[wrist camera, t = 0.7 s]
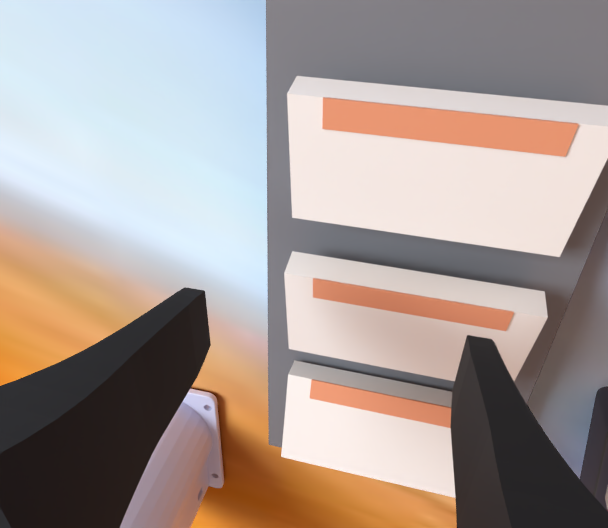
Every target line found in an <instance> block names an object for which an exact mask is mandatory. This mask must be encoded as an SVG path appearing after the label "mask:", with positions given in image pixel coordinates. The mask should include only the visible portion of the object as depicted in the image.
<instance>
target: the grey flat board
mask: <svg viewBox="0 0 608 528" xmlns="http://www.w3.org/2000/svg"><path fill="white" fill-rule="evenodd" d="M266 59H267V230H268V401H269V445H273V446H278V447H282V441H283V429H284V418H285V406H286V394H287V382H288V374H289V371H290V369H291V367H292V365H293V363H294V360H295V361H300V362H305V363H310V364H315V365H320V366H325V367H330V368H335V369H340V370H345V371H350V372H355V373H360V374H365V375H370V376H375V377H380V378H385V379H390V380H395V381H400V382H405V383H410V384H416V385H421V386H426V387H431V388H436V389H441V390H446V391H451V392H452V390H453V386H454V382H455V381H450V380H445V379H440V378H435V377H430V376H425V375H420V374H414V373H409V372H404V371H399V370H394V369H389V368H384V367H379V366H373V365H368V364H363V363H358V362H353V361H348V360H343V359H338V358H332V357H327V356H322V355H317V354H312V353H307V352H302V351H297V350H292V349H289V344H288V328H287V312H286V295H285V279H284V272H285V270H286V267H287V264H288V262H289V259H290V256H291V253H292V251H294V252H301V253H307V254H313V255H319V256H326V257H332V258H338V259H344V260H351V261H357V262H363V263H370V264H376V265H382V266H388V267H395V268H401V269H407V270H413V271H420V272H426V273H432V274H438V275H445V276H451V277H457V278H463V279H470V280H476V281H482V282H489V283H495V284H501V285H507V286H514V287H520V288H526V289H532V290H539V291H545V298H546V306H547V315H548V318H547V320H546V322H545V324H544V326H543V328H542V330H541V332H540V333H539V335H538V337H537V339H536V341H535V343H534V345H533V347H532V349H531V350H530V352H529V354H528V356H527V358H526V360H525V362H524V364H523V366H522V368H521V369H520V371H519V373H518V375H517V377H516V379H515V381H514V383H515V385H516V387H517V388H518V390H519V392H520V394H521V395H522V397H523V399H524V400H525V402H526V404H527V402H528V400H529V397H530V395H531V393H532V390H533V388H534V385H535V383H536V381H537V378H538V376H539V373H540V371H541V369H542V366H543V364H544V361H545V359H546V356H547V354H548V352H549V349H550V347H551V344H552V342H553V340H554V337H555V335H556V332H557V330H558V328H559V325H560V323H561V320H562V318H563V315H564V313H565V311H566V308H567V306H568V303H569V301H570V299H571V296H572V294H573V291H574V289H575V287H576V284H577V282H578V279H579V277H580V274H581V272H582V270H583V267H584V265H585V262H586V260H587V258H588V255H589V253H590V250H591V248H592V246H593V243H594V241H595V238H596V236H597V234H598V231H599V229H600V226H601V224H602V221H603V219H604V217H605V214H606V212H607V209H608V159H607V161H606V163H605V165H604V167H603V169H602V171H601V173H600V175H599V177H598V179H597V181H596V183H595V185H594V187H593V190H592V192H591V194H590V196H589V198H588V200H587V202H586V204H585V206H584V208H583V210H582V212H581V214H580V216H579V218H578V220H577V222H576V224H575V226H574V229H573V231H572V233H571V235H570V237H569V239H568V241H567V243H566V245H565V247H564V249H563V251H562V253H561V255H560V257H556V256H549V255H542V254H535V253H528V252H522V251H515V250H508V249H501V248H495V247H488V246H481V245H474V244H467V243H461V242H454V241H447V240H440V239H434V238H427V237H420V236H413V235H406V234H400V233H393V232H386V231H379V230H373V229H366V228H359V227H352V226H345V225H339V224H332V223H325V222H318V221H312V220H305V219H298V218H292V203H291V179H290V154H289V130H288V105H287V93H288V91H289V89H290V87H291V86H292V84H293V82H294V80H295V78H296V77H297V76H304V77H315V78H325V79H335V80H346V81H356V82H367V83H377V84H388V85H398V86H408V87H419V88H429V89H440V90H450V91H460V92H471V93H481V94H492V95H502V96H512V97H523V98H533V99H544V100H554V101H565V102H575V103H585V104H596V105H606V106H608V0H266Z"/></svg>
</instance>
